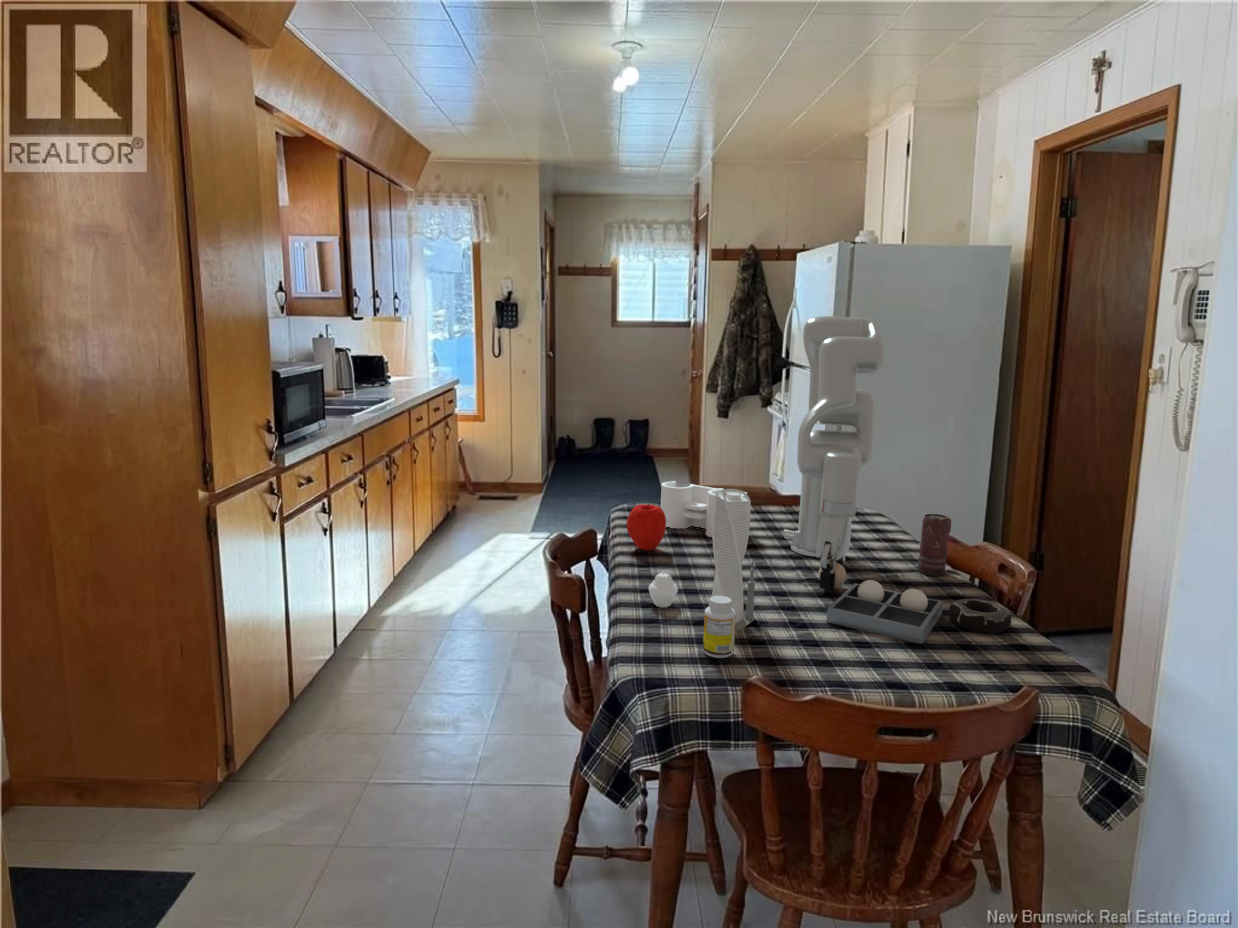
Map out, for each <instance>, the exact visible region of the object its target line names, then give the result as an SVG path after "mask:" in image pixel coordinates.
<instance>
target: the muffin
mask: <svg viewBox="0 0 1238 928" xmlns="http://www.w3.org/2000/svg"><path fill="white" fill-rule="evenodd" d="M678 590H679V589H678V585H677V584H676V583H675V582H674V580H673V577H672V576H671V575H670V574H669V573H664V572H661V573H658V574H656V575H655V577H654V580H653V581H652V582H651V583H649V585H648V592H649V596H650V597H651V600H652V602H653V604H654V606H655V605H656V607H657V606H658V608H668V606H669V607H671V605H672V603H673V601H674V600H675V598H676V596H677V594H678Z"/></svg>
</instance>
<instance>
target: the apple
mask: <svg viewBox="0 0 1238 928" xmlns="http://www.w3.org/2000/svg"><path fill="white" fill-rule="evenodd" d="M665 528H666V517H665V514H664V512H663V510H662V509H661V506H658V505H655V504H650V503H647V504H644V503H643V504H636V506H634V507H633V508H632V509H631V511H630V512H629V515H628V517H627V520H626V529H627V532H628V535H629V538H631V540H632V541H633V543H634V545H635V546H636V547H637V548H638V549H641V550H643V551H654V550H655V549H656V548H658V546H659V545H660V543H661V542H662V540H663V538H664V535H665V532H666V529H665Z"/></svg>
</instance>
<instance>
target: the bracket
mask: <svg viewBox="0 0 1238 928" xmlns="http://www.w3.org/2000/svg"><path fill="white" fill-rule="evenodd" d="M723 490H725V489H724V488H721V487H720V488H718V487H710V486H705V485H697V484H694V483H691V484H689V485H688V486H685V487H683V486H682V487H678V486H677V481H675V480H671V481H665V482H662V483H661V494H660V508H661V509H662V510H663V512H664V514H665V517H666V527H670V528H688V527H690V526H695V527H701V528H705V529H706V530H705V529H704V530H705V536H706V535H707V536H706V537H708V536H709V537H708V538H710V537H712V538H711V539H713V517H714V506H715V496H716V493H717V492H719V491H723ZM744 492H745V493H746V494H747V495H748V492H746V491H744ZM740 494H741V496H743V497H744V498H746V497H745V496H744V495H743V494H742V493H740ZM718 495H723V494H722V493H721V494H718ZM746 499H747V498H746Z"/></svg>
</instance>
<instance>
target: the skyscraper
mask: <svg viewBox="0 0 1238 928" xmlns="http://www.w3.org/2000/svg"><path fill="white" fill-rule="evenodd" d="M745 492H746V491H743V490H741V489H737V488H725V489H724V490H723V491H719V492H717V493H716V496H715V506H714V517H713V538H712V552H713V560H714V566H715V567H714V568H715V572H714V577H713V584H712V585H713V586H712V592H711V597H713V596H725V597H728V598H730V599H731V600H732V609H734V610H735V613H736V618H735V630H738V631H742V630H743V629H745V628H746V627H747V626H749V625H750V624H751V623H752V622H753V621H755V620H756V618H755V616H754V614H755V613H754V609H755V604H756V602H755V587H756V581H754V580H755V579H754V578H755V577H754V574H755V568H754V563H755V561H754V560H751V568H750V572H749V573H750V574H749V580H748V581H747V595H746V602H745V610H744V587H743V586H744V583H743V571H742V570H743V569H742V565H743V562H744V559H745V555H746V553H747V552H746V551H747V547H748V543H749V542H748V541H749V535H750V528H751V527H750V526H751V508H752V507H751V501H752V500H751V498H750V496H749V495H748V493H747V494H746V493H745ZM721 493H722V494H723V495H718V494H721ZM741 493H742V494H743V495H744V496H745V497H746V498H747V499H746V498H744V497H743V496H741ZM744 611H745V615H744Z"/></svg>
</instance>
